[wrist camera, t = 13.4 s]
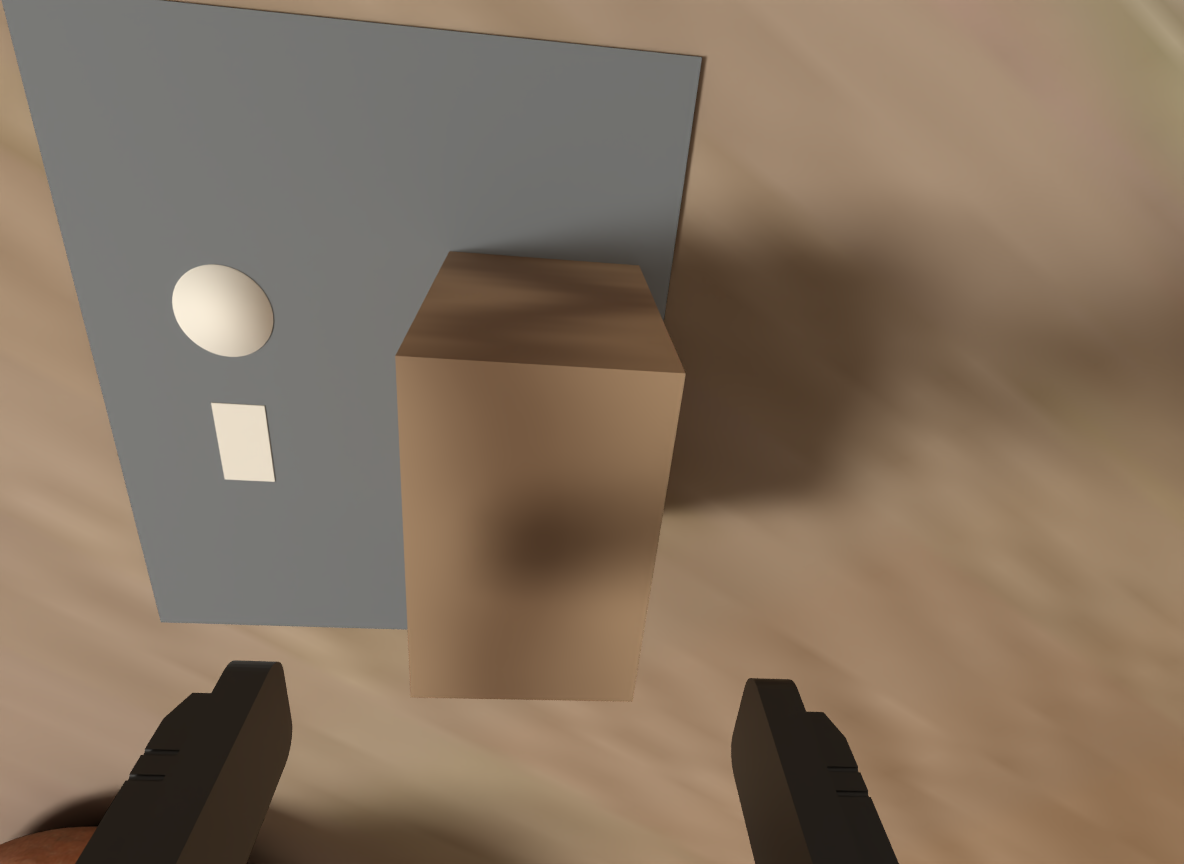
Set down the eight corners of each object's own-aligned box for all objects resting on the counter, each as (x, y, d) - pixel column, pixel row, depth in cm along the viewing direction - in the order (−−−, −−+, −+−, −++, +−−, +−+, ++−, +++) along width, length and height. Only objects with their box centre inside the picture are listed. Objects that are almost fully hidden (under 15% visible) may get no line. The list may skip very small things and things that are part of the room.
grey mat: (701, 57, 18) (702, 57, 18) (618, 633, 28) (618, 636, 27) (0, -17, 17) (-5, -17, 17) (162, 620, 26) (160, 623, 26)
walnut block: (639, 265, 21) (685, 373, 14) (608, 518, 25) (632, 701, 18) (449, 251, 20) (395, 356, 13) (450, 511, 24) (410, 697, 17)
